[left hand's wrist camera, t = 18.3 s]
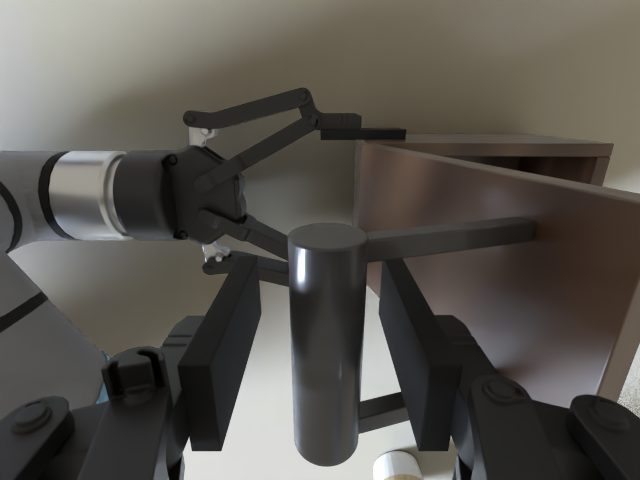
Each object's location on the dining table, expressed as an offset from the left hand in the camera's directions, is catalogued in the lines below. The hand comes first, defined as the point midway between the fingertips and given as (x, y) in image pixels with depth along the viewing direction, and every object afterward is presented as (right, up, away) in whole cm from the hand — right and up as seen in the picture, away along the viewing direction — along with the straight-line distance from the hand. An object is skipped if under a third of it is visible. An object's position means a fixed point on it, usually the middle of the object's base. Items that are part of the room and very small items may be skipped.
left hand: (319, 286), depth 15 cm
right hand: (+7, +6, +15) cm, 17 cm away
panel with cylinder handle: (+6, +1, +3) cm, 7 cm away
